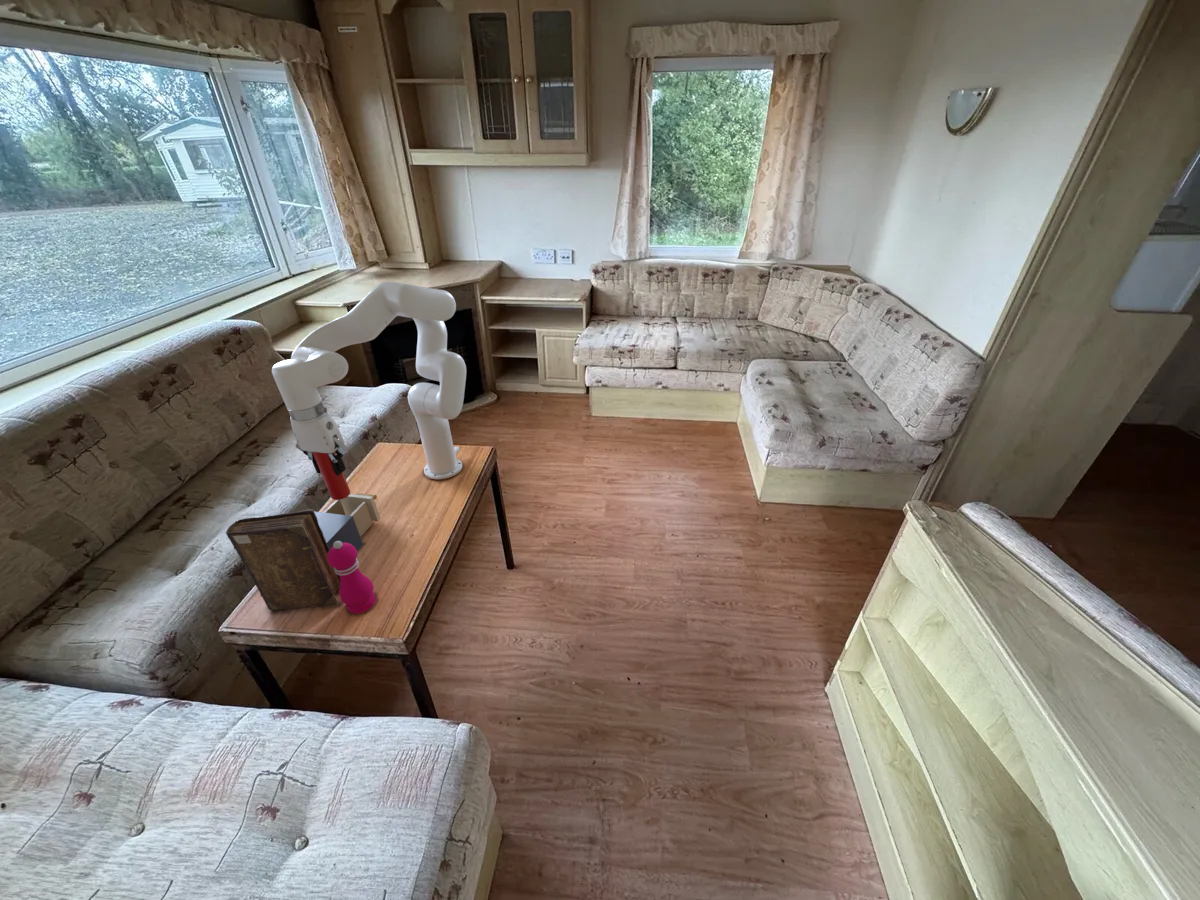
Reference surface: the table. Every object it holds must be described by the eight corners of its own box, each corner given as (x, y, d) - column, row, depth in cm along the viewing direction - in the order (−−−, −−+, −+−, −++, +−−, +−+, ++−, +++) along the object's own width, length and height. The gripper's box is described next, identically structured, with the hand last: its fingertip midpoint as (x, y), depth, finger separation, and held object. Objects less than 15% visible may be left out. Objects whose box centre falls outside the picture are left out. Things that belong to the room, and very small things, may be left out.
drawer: (357, 506, 146) (349, 484, 142) (387, 510, 144) (380, 488, 140) (318, 546, 131) (307, 523, 127) (352, 550, 130) (342, 527, 125)
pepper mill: (366, 618, 112) (340, 555, 101) (338, 613, 113) (310, 551, 103) (384, 594, 118) (361, 532, 107) (357, 590, 119) (333, 529, 109)
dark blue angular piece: (326, 539, 135) (314, 511, 130) (363, 544, 133) (352, 516, 128) (288, 577, 123) (273, 548, 118) (328, 583, 121) (315, 554, 116)
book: (265, 612, 114) (219, 533, 100) (280, 589, 120) (239, 511, 106) (337, 608, 114) (301, 529, 101) (348, 585, 120) (315, 508, 107)
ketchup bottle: (338, 488, 133) (315, 431, 123) (354, 490, 132) (332, 433, 122) (327, 499, 129) (302, 441, 119) (343, 500, 128) (319, 443, 118)
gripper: (347, 405, 118) (369, 466, 128) (287, 400, 121) (313, 460, 131) (327, 420, 112) (351, 483, 121) (265, 415, 114) (293, 476, 124)
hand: (331, 470), depth 126 cm, fingers closed on ketchup bottle, 4 cm apart
